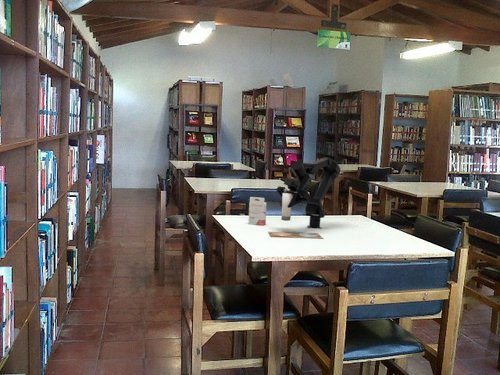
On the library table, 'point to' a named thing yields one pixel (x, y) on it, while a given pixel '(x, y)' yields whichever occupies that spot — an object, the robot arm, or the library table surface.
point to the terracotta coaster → (281, 234)
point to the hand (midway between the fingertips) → (284, 206)
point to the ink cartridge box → (257, 211)
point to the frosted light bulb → (286, 206)
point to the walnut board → (295, 235)
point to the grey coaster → (308, 235)
